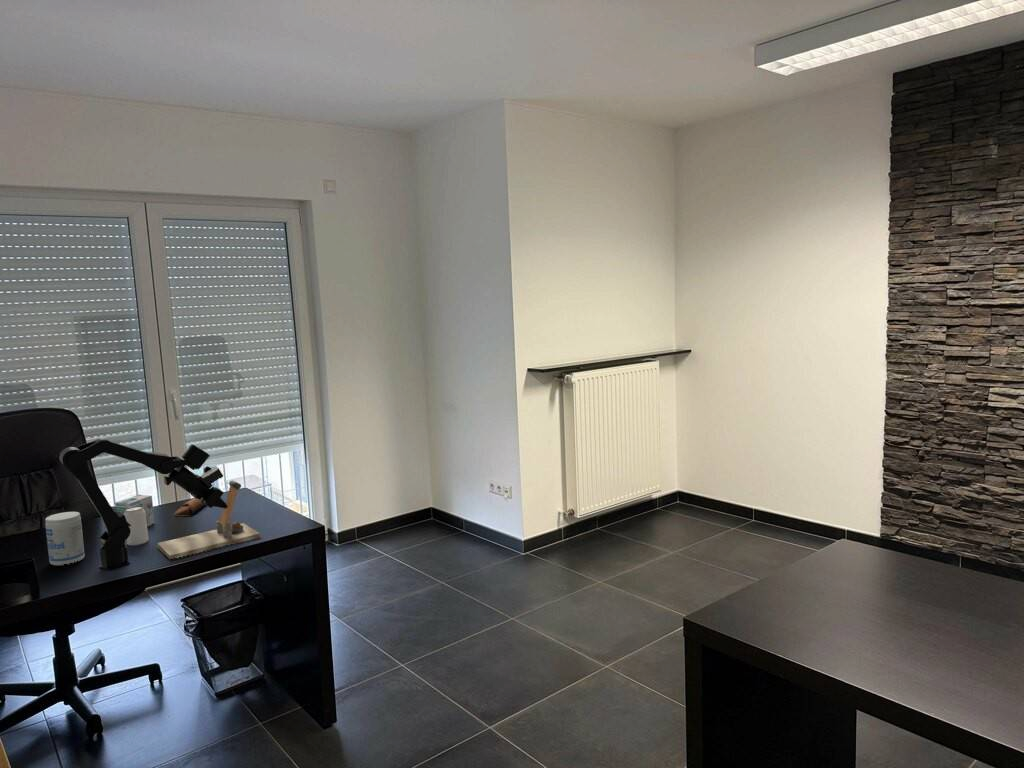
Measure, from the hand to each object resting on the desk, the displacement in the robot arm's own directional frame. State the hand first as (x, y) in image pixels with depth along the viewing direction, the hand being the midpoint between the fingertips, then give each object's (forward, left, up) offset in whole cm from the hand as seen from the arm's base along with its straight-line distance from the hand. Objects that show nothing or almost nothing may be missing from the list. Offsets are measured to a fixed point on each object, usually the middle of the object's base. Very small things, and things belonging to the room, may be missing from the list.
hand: (226, 507), depth 239 cm
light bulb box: (-6, +43, -11) cm, 45 cm away
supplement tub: (-36, +31, -11) cm, 49 cm away
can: (-16, +26, -11) cm, 32 cm away
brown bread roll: (+16, +44, -11) cm, 48 cm away
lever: (-1, 0, -6) cm, 6 cm away
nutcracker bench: (-6, +2, -11) cm, 12 cm away
